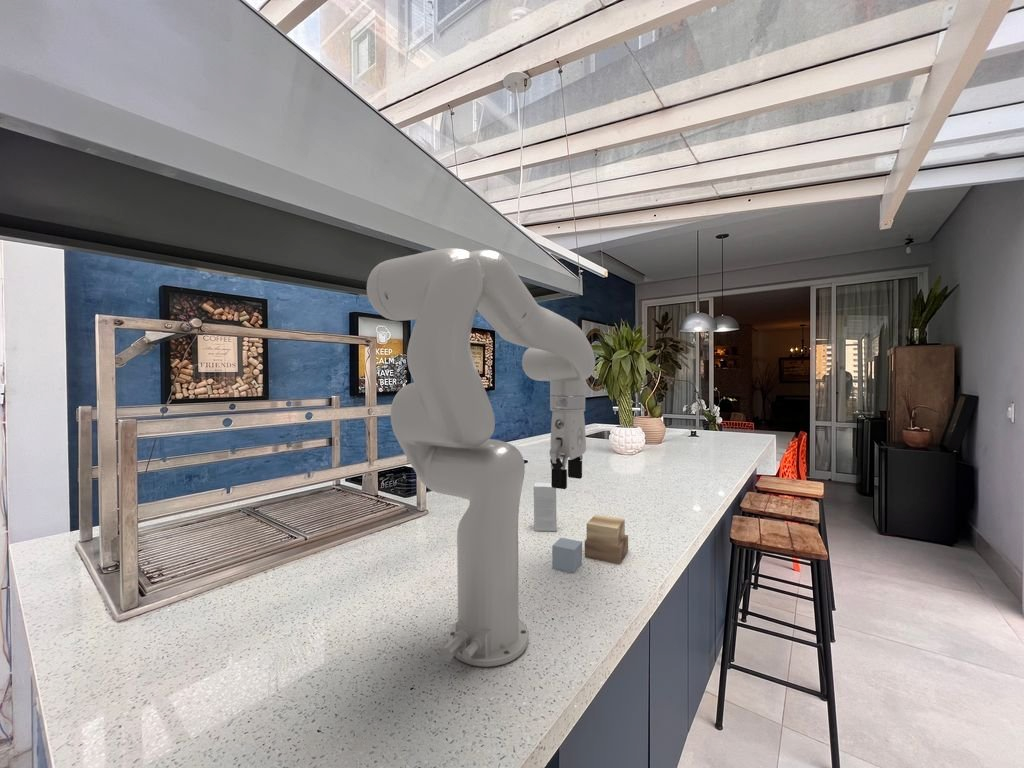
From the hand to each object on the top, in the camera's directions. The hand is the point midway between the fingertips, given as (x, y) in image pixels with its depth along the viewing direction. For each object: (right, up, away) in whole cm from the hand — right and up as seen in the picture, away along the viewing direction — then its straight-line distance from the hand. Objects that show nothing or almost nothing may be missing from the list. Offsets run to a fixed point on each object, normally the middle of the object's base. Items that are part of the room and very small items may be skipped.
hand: (567, 482), depth 92 cm
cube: (0, -18, 0) cm, 18 cm away
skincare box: (-3, -18, +22) cm, 29 cm away
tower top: (+10, -14, +6) cm, 18 cm away
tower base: (+10, -18, +6) cm, 22 cm away
